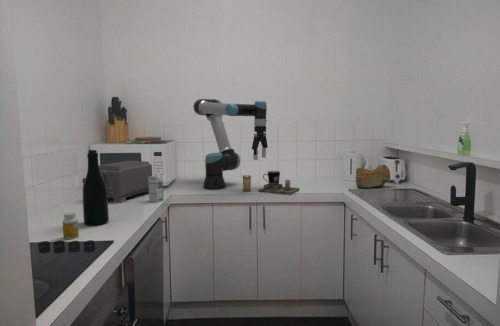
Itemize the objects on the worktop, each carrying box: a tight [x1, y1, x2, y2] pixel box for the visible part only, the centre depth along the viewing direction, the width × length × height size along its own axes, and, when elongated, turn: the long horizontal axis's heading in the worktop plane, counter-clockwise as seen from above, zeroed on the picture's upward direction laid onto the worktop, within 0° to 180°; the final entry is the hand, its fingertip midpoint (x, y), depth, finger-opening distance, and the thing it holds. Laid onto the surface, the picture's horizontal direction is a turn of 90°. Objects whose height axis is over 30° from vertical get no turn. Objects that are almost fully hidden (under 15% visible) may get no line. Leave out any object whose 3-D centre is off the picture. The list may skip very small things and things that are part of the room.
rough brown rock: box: [355, 164, 391, 189], centre depth 249 cm, size 23×17×15 cm
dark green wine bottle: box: [82, 149, 110, 226], centre depth 164 cm, size 10×10×33 cm
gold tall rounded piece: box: [242, 174, 252, 193], centre depth 237 cm, size 5×5×10 cm
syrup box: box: [148, 174, 165, 203], centre depth 209 cm, size 6×6×14 cm
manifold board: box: [257, 179, 300, 196], centre depth 236 cm, size 22×16×8 cm
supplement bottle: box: [62, 211, 80, 240], centre depth 145 cm, size 5×5×10 cm
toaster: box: [99, 160, 153, 204], centre depth 221 cm, size 19×35×20 cm, turn 159°
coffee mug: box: [262, 170, 281, 184], centre depth 255 cm, size 12×9×10 cm
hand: (259, 158), depth 237 cm, fingers open, 13 cm apart
